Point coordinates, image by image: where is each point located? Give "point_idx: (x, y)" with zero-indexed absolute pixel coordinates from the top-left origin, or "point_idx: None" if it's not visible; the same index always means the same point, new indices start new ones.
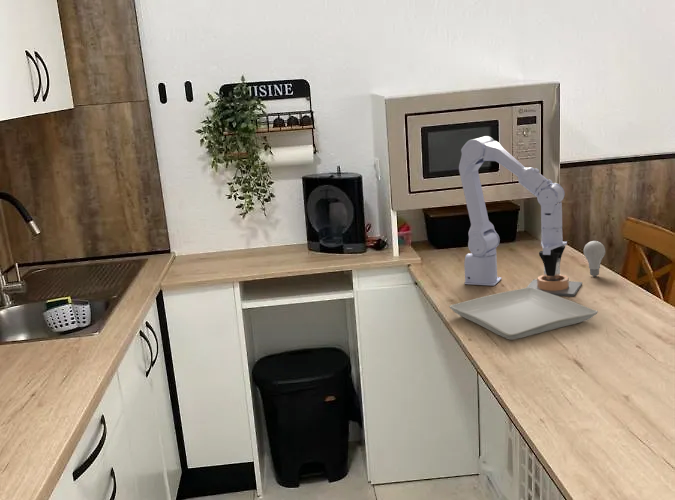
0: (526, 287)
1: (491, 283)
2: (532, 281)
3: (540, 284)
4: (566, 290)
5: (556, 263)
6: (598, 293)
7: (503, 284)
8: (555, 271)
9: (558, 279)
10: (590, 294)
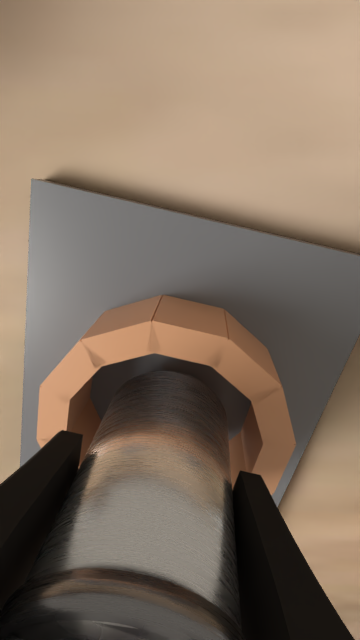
0: None
1: None
2: None
3: None
4: (284, 315)
5: (297, 620)
6: (318, 21)
7: None
8: (253, 501)
9: (204, 403)
10: (339, 110)
